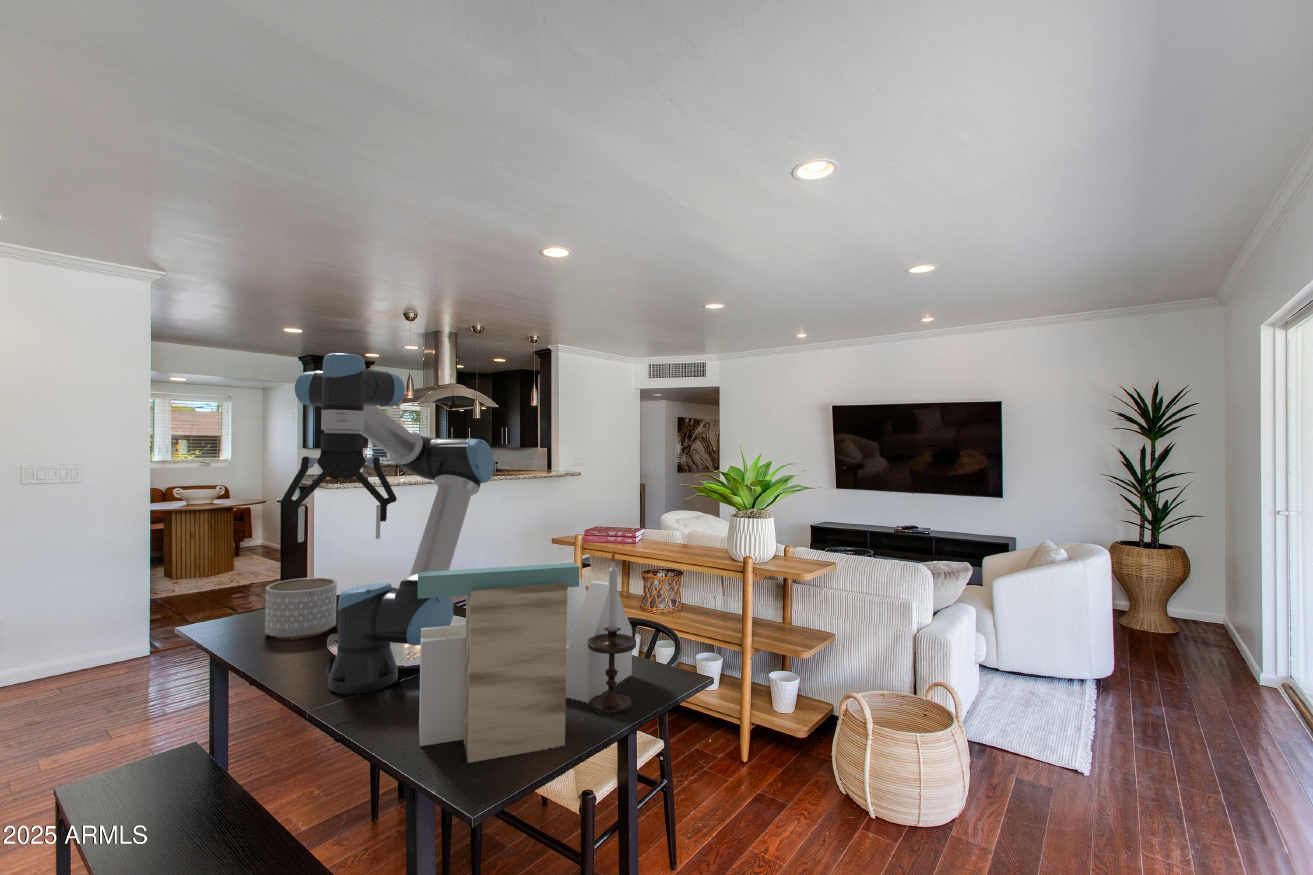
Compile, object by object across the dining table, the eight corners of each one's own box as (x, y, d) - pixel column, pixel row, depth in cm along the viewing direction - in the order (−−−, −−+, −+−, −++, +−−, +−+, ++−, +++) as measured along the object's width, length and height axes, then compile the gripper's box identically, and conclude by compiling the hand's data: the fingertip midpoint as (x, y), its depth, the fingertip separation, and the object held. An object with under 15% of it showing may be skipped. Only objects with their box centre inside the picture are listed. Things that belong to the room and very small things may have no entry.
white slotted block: (581, 664, 163) (582, 570, 164) (631, 675, 156) (633, 576, 156) (534, 689, 146) (536, 584, 147) (587, 703, 139) (589, 592, 139)
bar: (417, 593, 116) (417, 572, 116) (574, 582, 127) (574, 562, 127) (417, 598, 112) (418, 576, 112) (579, 586, 123) (579, 566, 123)
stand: (463, 740, 121) (466, 580, 121) (554, 725, 128) (557, 574, 128) (467, 762, 113) (471, 591, 113) (564, 745, 119) (567, 584, 120)
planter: (284, 645, 174) (285, 594, 174) (252, 633, 184) (253, 585, 184) (348, 629, 190) (349, 582, 190) (315, 619, 200) (316, 575, 200)
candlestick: (636, 715, 133) (638, 553, 133) (585, 716, 132) (588, 553, 132) (634, 695, 144) (636, 544, 144) (587, 695, 143) (589, 544, 143)
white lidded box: (419, 725, 127) (420, 628, 127) (508, 712, 134) (509, 620, 134) (420, 746, 118) (421, 641, 119) (515, 731, 125) (516, 632, 125)
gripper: (265, 430, 114) (262, 545, 114) (410, 433, 124) (408, 539, 124) (272, 431, 121) (270, 539, 121) (409, 433, 131) (407, 534, 131)
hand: (340, 539), depth 122 cm, fingers open, 13 cm apart
